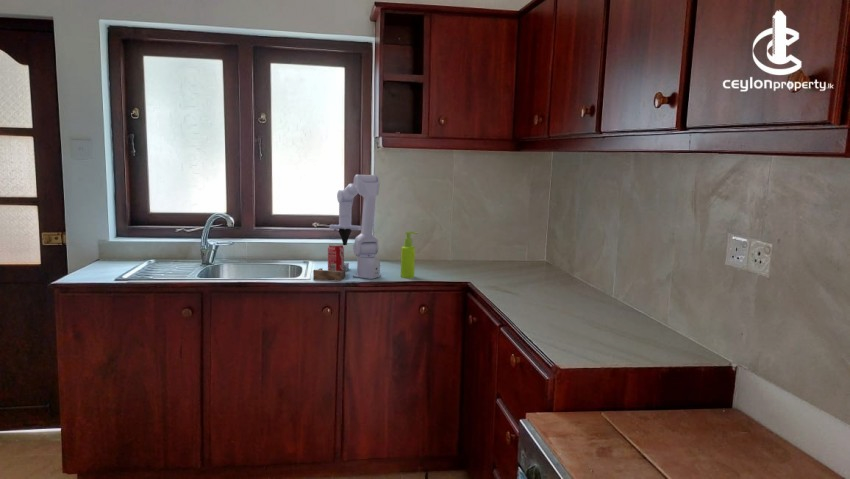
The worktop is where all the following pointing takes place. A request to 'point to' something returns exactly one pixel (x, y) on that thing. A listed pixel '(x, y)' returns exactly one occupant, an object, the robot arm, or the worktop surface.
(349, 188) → the robot arm
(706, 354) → the worktop surface
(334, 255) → the soda can
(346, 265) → the pusher block
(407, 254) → the soap dispenser
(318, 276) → the walnut tray
